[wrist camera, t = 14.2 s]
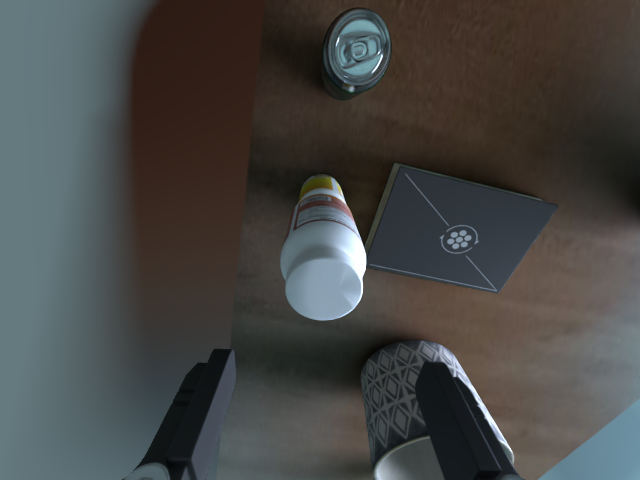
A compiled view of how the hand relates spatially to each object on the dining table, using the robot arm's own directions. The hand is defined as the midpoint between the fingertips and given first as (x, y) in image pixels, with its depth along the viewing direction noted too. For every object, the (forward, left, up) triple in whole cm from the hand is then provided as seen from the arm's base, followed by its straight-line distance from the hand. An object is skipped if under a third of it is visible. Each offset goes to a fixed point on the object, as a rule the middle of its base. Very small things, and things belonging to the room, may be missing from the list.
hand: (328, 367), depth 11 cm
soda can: (-6, +13, -26) cm, 30 cm away
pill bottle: (0, 0, -16) cm, 16 cm away
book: (+18, +6, -26) cm, 32 cm away
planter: (+34, -19, -26) cm, 47 cm away
